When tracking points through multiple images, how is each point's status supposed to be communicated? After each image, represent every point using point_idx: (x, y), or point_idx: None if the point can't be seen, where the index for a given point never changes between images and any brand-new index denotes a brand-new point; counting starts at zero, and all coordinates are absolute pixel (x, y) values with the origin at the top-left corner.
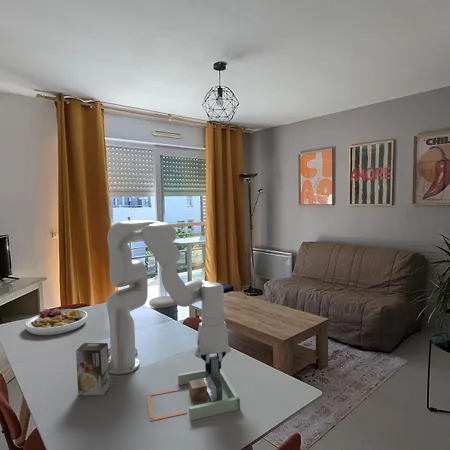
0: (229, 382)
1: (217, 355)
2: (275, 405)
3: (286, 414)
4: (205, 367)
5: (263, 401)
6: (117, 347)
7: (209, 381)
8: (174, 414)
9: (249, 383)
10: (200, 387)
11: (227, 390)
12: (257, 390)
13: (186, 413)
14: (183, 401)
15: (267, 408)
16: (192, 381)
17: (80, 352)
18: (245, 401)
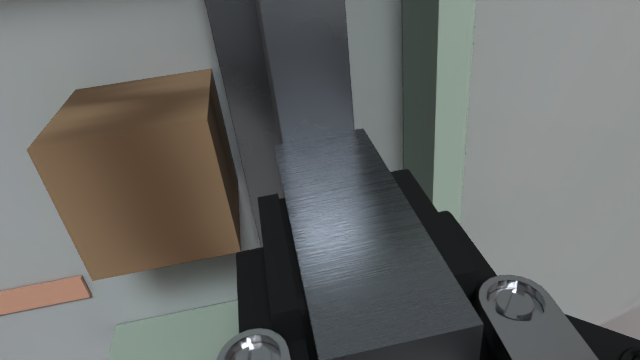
0: (462, 147)
1: (502, 351)
2: (612, 260)
3: (610, 316)
4: (237, 270)
5: (579, 227)
6: None
7: (277, 122)
8: (3, 306)
9: (626, 12)
10: (177, 260)
11: (414, 148)
12: (618, 118)
13: (90, 294)
14: (38, 175)
15: (561, 278)
16: (75, 167)
17: None
18: (485, 218)
